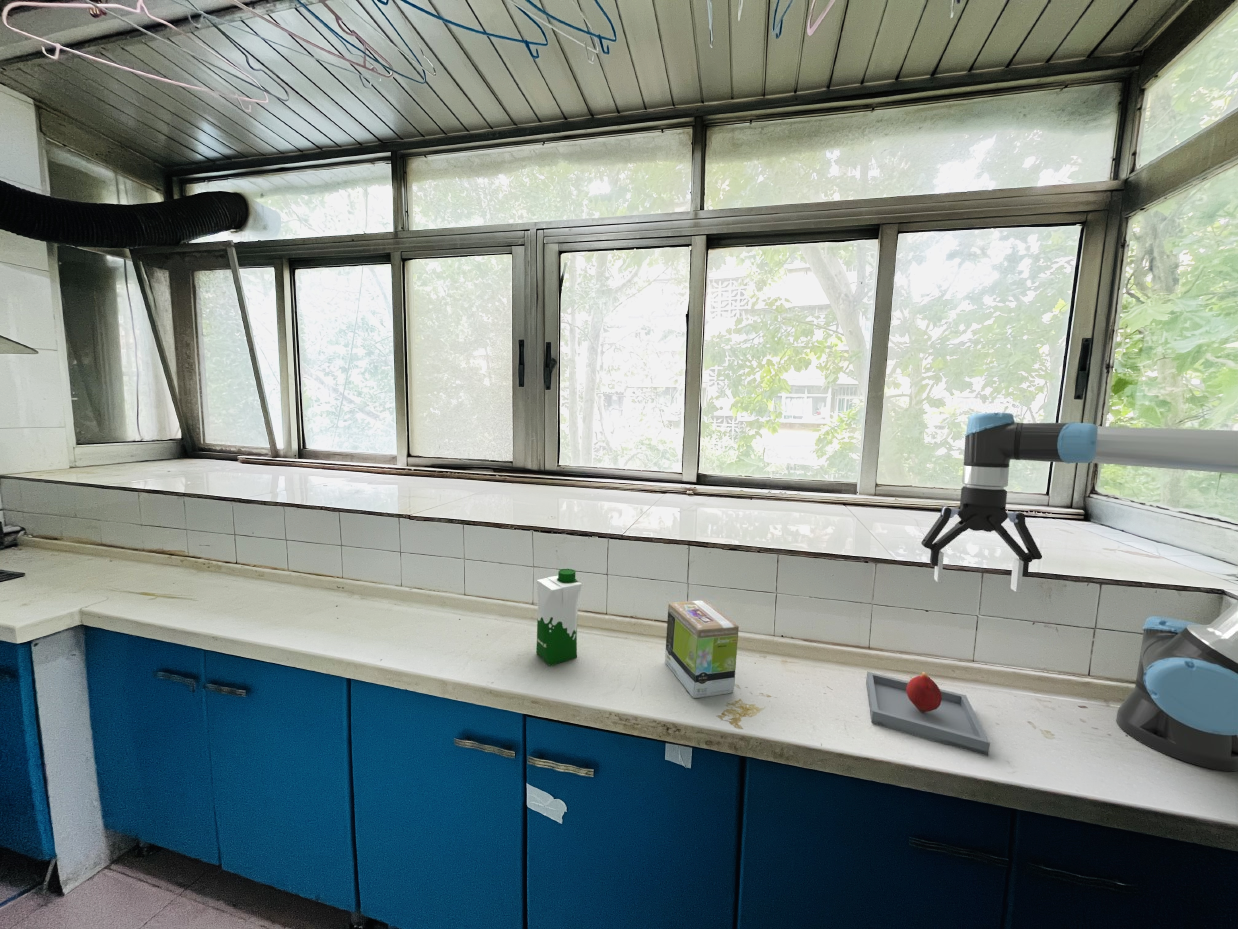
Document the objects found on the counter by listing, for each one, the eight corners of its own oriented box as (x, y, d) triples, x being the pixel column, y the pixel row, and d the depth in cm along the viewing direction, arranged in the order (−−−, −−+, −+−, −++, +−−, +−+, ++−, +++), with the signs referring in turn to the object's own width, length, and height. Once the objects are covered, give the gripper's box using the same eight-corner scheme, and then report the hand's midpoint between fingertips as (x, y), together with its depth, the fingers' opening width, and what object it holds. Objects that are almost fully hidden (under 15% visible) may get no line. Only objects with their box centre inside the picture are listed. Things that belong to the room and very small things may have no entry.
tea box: (735, 693, 95) (740, 625, 94) (692, 700, 92) (697, 630, 90) (701, 657, 109) (705, 598, 108) (663, 662, 106) (666, 601, 105)
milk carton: (582, 658, 106) (585, 575, 104) (547, 669, 101) (550, 582, 99) (563, 642, 113) (566, 564, 111) (530, 652, 108) (532, 570, 106)
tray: (964, 706, 94) (965, 695, 93) (988, 756, 79) (990, 743, 79) (866, 682, 101) (867, 671, 101) (871, 723, 87) (872, 711, 87)
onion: (941, 711, 90) (946, 673, 90) (937, 725, 86) (941, 685, 85) (907, 698, 94) (911, 662, 93) (901, 710, 90) (905, 672, 89)
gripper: (1051, 489, 94) (1041, 589, 95) (910, 481, 103) (904, 572, 105) (1070, 493, 87) (1060, 601, 88) (918, 484, 96) (911, 581, 98)
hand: (975, 585), depth 97 cm, fingers open, 13 cm apart
